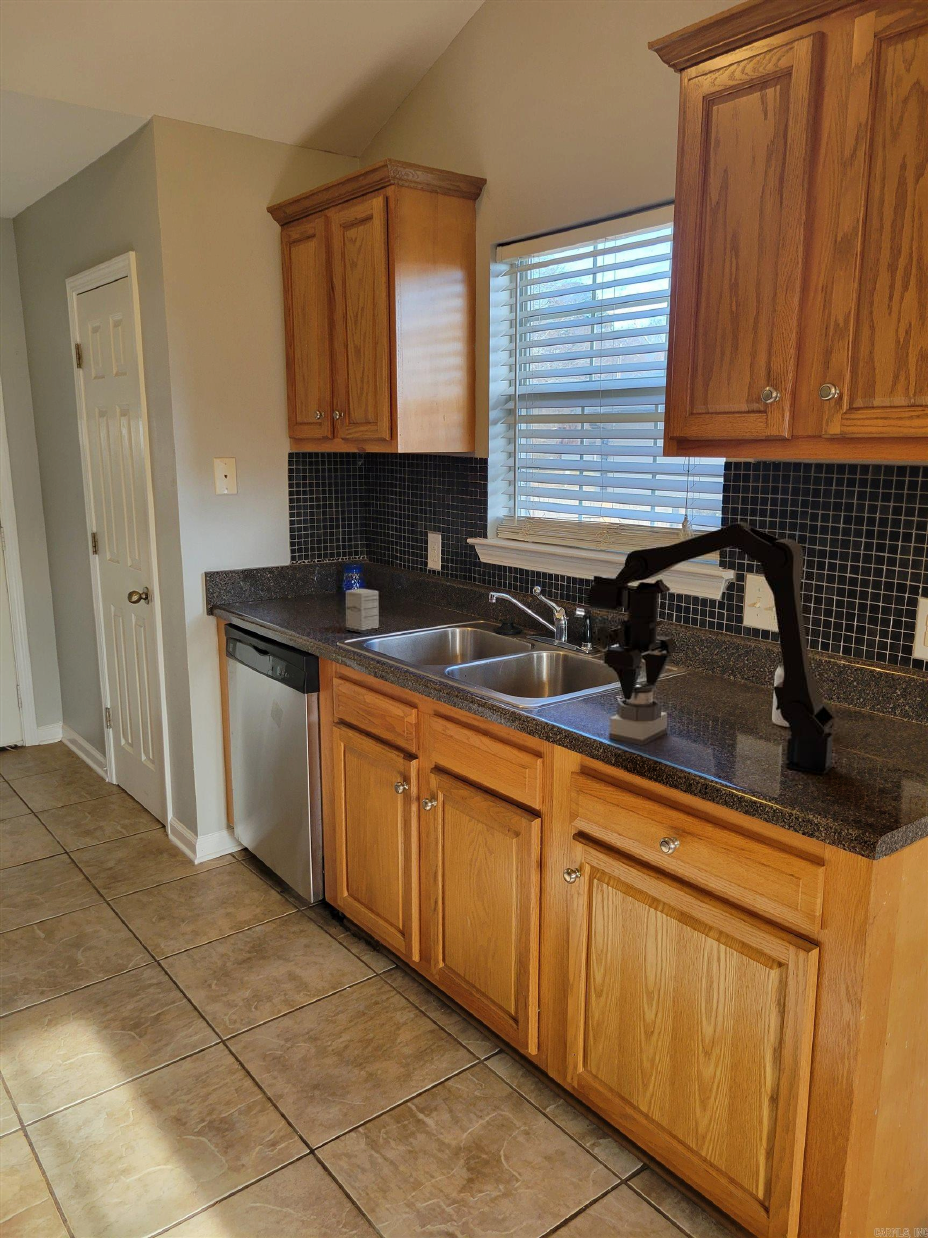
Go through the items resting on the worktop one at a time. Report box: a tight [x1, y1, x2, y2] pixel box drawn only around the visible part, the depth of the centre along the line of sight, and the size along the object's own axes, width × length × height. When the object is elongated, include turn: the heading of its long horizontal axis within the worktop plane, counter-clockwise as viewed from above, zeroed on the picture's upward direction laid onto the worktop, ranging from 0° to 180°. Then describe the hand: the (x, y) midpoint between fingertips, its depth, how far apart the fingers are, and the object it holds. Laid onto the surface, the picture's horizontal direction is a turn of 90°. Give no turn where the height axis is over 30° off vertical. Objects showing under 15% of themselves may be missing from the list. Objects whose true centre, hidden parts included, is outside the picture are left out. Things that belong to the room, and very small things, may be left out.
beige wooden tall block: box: [345, 588, 380, 630], centre depth 279 cm, size 7×7×13 cm
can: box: [771, 662, 790, 729], centre depth 184 cm, size 6×6×12 cm
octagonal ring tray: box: [608, 697, 668, 746], centre depth 176 cm, size 8×10×6 cm
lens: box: [626, 681, 655, 708], centre depth 176 cm, size 5×5×6 cm
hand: (639, 694), depth 176 cm, fingers open, 9 cm apart
